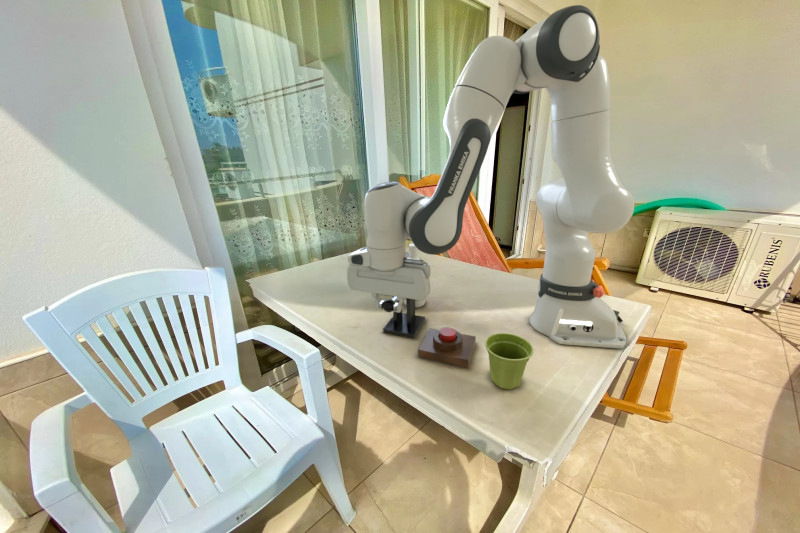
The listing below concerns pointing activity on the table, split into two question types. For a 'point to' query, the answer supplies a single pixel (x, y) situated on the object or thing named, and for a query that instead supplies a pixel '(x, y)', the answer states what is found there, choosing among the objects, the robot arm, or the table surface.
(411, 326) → the tap bracket
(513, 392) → the table surface
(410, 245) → the bath foam
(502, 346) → the plant pot
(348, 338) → the table surface
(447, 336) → the button
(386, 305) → the lever
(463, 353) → the button block
